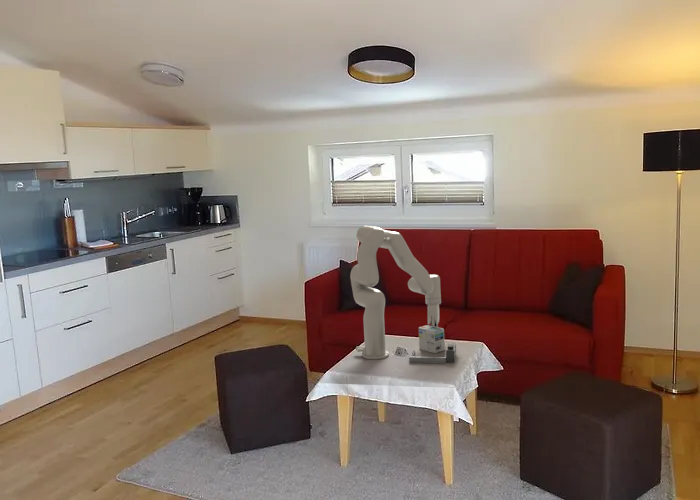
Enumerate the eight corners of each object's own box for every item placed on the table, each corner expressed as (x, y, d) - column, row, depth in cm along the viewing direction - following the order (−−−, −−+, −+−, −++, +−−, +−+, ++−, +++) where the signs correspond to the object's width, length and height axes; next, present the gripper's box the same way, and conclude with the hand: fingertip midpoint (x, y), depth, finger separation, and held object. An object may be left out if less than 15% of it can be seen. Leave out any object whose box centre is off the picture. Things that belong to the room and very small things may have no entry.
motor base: (409, 362, 276) (408, 348, 275) (413, 351, 291) (413, 338, 290) (454, 363, 271) (453, 349, 270) (456, 352, 286) (456, 338, 285)
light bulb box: (445, 350, 291) (444, 328, 289) (435, 353, 286) (434, 331, 285) (428, 346, 299) (427, 324, 297) (418, 349, 295) (417, 327, 293)
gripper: (427, 296, 308) (429, 332, 311) (423, 304, 294) (425, 341, 297) (442, 296, 307) (444, 332, 309) (439, 303, 292) (441, 341, 295)
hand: (435, 336), depth 303 cm, fingers closed
